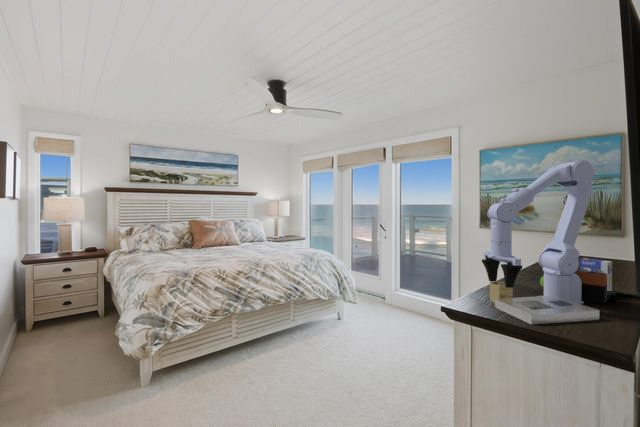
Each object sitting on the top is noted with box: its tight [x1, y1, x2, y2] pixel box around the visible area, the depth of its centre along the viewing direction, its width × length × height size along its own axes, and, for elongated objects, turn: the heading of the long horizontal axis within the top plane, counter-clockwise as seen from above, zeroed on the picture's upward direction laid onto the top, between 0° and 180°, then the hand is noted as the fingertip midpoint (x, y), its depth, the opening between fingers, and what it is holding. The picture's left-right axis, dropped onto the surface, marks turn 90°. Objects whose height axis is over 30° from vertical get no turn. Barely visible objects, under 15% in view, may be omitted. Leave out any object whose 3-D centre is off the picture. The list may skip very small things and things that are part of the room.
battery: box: [576, 269, 608, 305], centre depth 101 cm, size 4×7×10 cm, turn 39°
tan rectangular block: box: [489, 281, 514, 304], centre depth 101 cm, size 4×4×6 cm
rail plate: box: [494, 295, 600, 325], centre depth 91 cm, size 20×14×3 cm
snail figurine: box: [539, 275, 544, 289], centre depth 114 cm, size 5×6×12 cm
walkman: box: [579, 257, 613, 291], centre depth 107 cm, size 8×3×12 cm, turn 28°
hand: (500, 284), depth 101 cm, fingers open, 7 cm apart
